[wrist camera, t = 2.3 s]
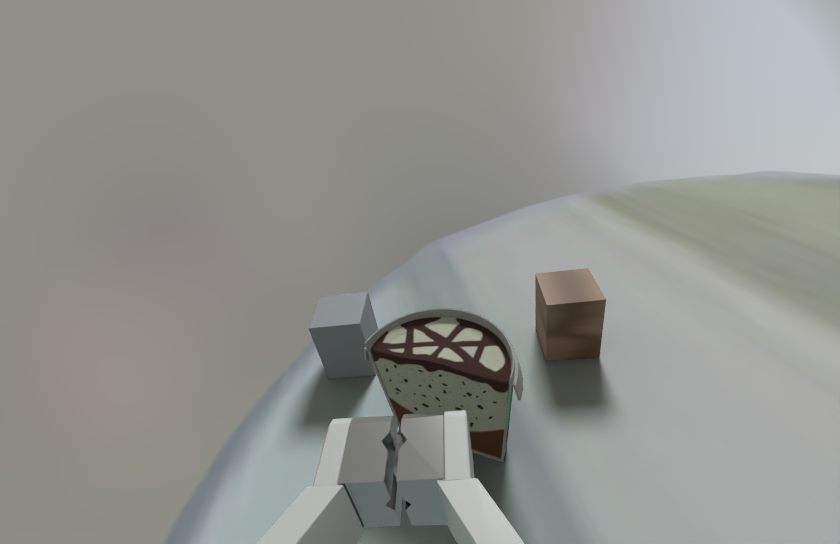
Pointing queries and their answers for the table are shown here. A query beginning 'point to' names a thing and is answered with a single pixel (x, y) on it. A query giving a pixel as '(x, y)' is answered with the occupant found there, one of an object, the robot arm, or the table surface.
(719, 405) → the table surface
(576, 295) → the walnut block
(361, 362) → the slate block
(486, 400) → the food container
